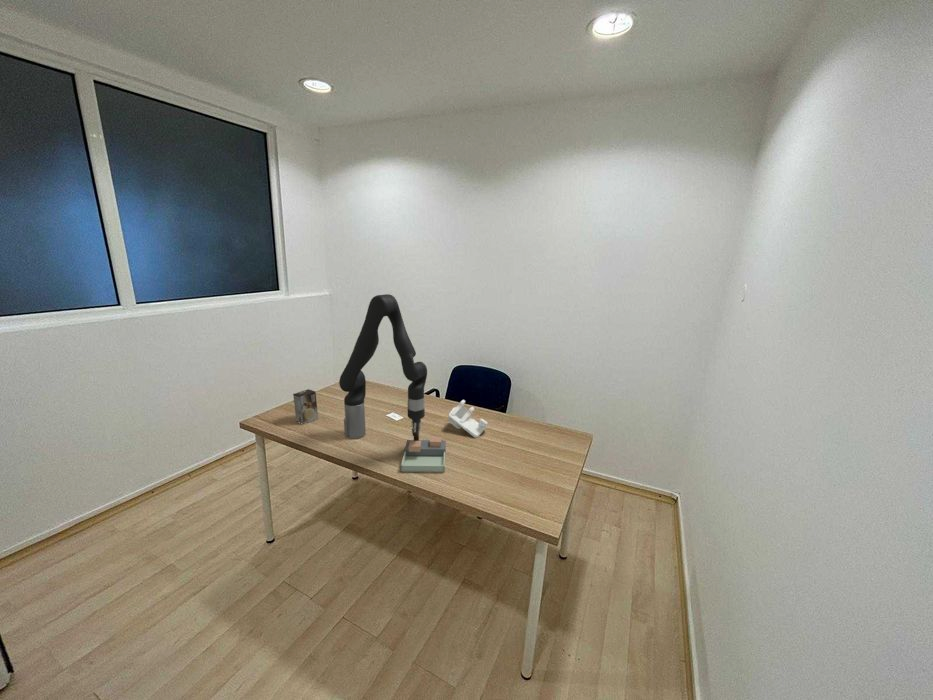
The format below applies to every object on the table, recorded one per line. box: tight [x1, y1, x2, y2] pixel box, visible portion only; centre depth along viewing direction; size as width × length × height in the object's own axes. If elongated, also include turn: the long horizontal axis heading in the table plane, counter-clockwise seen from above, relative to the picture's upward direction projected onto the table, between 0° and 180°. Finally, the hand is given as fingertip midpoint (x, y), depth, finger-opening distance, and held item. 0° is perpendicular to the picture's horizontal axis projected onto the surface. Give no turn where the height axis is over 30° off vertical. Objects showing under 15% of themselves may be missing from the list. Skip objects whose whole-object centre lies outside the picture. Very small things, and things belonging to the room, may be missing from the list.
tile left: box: [409, 441, 421, 452], centre depth 156 cm, size 5×5×2 cm
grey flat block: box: [404, 439, 447, 457], centre depth 161 cm, size 18×8×4 cm, turn 92°
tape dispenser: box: [447, 399, 489, 439], centre depth 182 cm, size 20×11×13 cm, turn 65°
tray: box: [400, 450, 446, 474], centre depth 151 cm, size 18×11×3 cm, turn 92°
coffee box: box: [292, 388, 319, 425], centre depth 187 cm, size 9×6×16 cm
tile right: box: [429, 435, 443, 447], centre depth 160 cm, size 5×5×2 cm
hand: (416, 441), depth 160 cm, fingers closed
